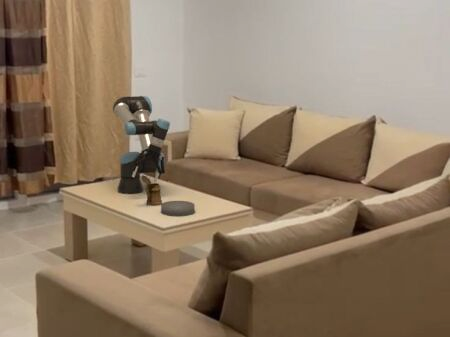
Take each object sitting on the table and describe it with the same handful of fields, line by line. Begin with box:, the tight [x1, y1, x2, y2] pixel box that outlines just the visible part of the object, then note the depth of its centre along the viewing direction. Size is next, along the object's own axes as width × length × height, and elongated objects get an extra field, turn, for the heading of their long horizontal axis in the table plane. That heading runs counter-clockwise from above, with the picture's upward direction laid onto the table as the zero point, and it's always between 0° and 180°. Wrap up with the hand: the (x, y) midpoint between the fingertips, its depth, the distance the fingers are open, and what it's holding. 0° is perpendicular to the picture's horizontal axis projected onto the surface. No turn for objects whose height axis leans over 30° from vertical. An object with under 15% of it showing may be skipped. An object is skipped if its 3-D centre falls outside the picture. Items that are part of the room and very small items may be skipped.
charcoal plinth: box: [160, 200, 196, 217], centre depth 403 cm, size 18×18×4 cm
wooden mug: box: [140, 174, 163, 207], centre depth 417 cm, size 9×14×18 cm, turn 142°
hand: (143, 180), depth 429 cm, fingers open, 13 cm apart
